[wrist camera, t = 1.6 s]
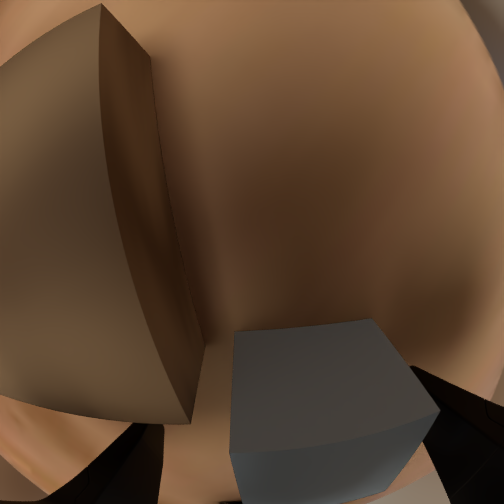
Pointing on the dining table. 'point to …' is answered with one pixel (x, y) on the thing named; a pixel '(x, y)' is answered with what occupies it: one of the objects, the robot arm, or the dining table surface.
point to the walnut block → (90, 234)
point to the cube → (322, 413)
